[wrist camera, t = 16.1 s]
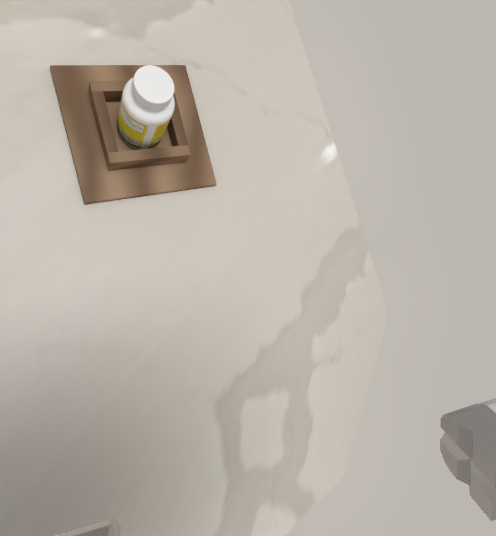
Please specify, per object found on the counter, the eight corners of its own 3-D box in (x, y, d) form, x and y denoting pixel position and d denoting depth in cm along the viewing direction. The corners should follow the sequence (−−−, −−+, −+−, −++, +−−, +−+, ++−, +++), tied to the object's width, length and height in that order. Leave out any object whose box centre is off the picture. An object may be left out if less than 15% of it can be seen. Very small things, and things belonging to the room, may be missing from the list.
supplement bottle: (159, 110, 49) (179, 62, 40) (164, 152, 48) (185, 113, 39) (113, 106, 46) (123, 54, 38) (118, 150, 46) (129, 108, 37)
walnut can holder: (84, 204, 44) (85, 196, 42) (50, 68, 45) (49, 52, 42) (214, 185, 51) (222, 177, 48) (184, 68, 52) (190, 53, 49)
